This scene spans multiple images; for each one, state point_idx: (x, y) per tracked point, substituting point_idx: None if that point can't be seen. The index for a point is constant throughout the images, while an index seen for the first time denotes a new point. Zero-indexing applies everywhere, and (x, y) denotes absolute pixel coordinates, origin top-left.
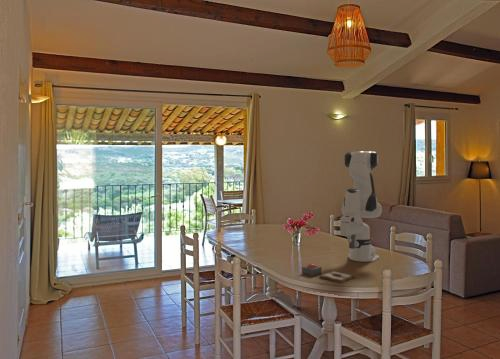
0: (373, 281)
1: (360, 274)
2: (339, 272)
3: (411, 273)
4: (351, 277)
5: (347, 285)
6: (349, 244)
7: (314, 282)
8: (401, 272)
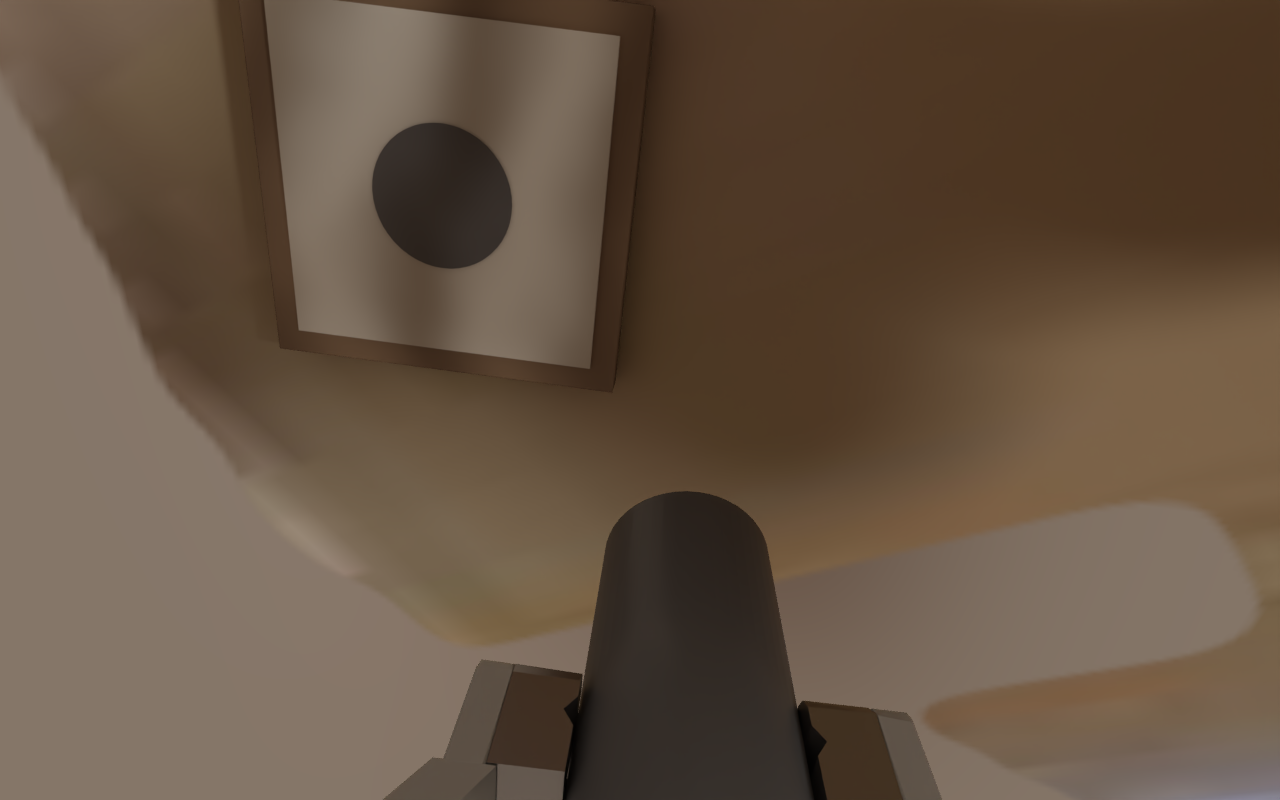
0: None
1: (831, 381)
2: (630, 151)
3: (1158, 777)
4: (536, 378)
5: (288, 420)
6: (609, 591)
7: (36, 12)
8: (1163, 706)
